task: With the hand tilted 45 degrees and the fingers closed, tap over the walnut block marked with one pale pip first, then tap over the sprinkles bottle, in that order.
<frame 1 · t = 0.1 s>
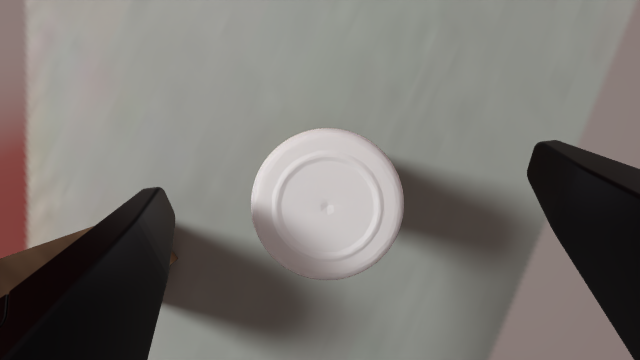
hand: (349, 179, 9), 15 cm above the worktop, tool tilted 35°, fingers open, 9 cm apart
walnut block: (135, 251, 24), on the worktop
sprinkles bottle: (322, 173, 24), on the worktop
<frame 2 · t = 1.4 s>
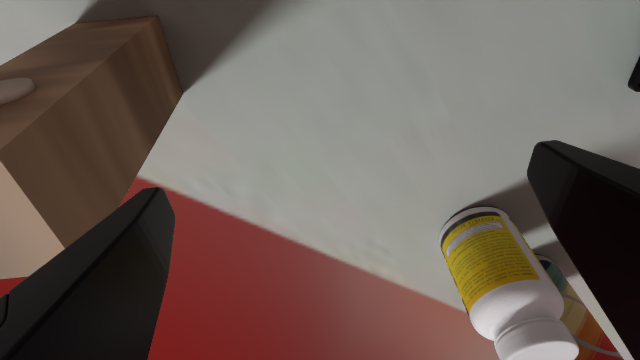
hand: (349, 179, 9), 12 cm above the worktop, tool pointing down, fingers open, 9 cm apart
supplement bottle: (471, 229, 28), on the worktop
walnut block: (132, 61, 19), on the worktop
lotion bottle: (518, 273, 32), on the worktop
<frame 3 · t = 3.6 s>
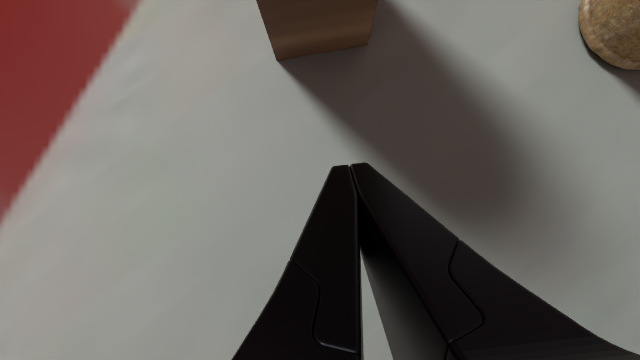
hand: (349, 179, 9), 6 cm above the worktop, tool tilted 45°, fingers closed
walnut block: (314, 9, 16), on the worktop
sprinkles bottle: (622, 25, 16), on the worktop
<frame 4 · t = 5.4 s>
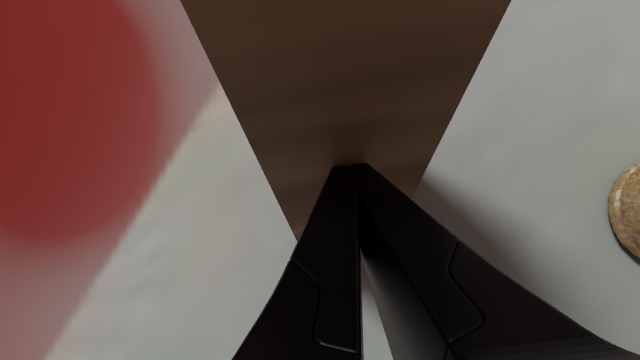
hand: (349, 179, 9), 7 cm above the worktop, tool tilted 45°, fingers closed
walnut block: (339, 187, 15), on the worktop, tilted 15°
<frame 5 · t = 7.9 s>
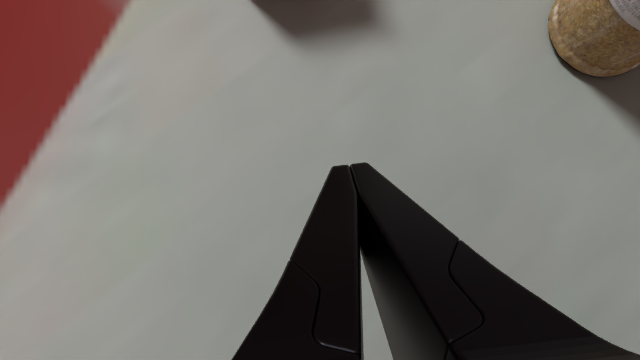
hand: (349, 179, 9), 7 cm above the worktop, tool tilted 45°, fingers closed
sprinkles bottle: (591, 34, 16), on the worktop
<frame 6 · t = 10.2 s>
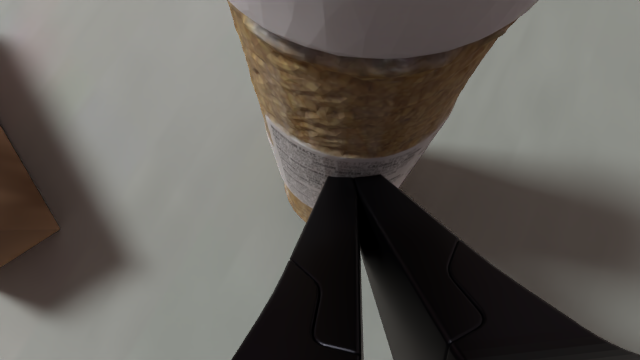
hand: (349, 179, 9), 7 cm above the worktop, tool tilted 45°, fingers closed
sprinkles bottle: (338, 185, 16), on the worktop, touching gripper
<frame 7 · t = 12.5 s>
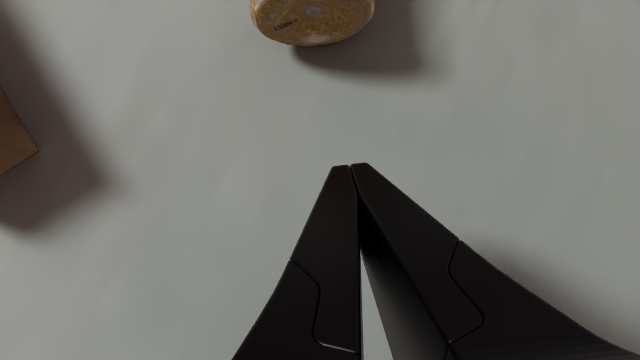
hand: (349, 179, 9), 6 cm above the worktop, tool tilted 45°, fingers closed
sprinkles bottle: (313, 27, 13), point 2 cm above the worktop
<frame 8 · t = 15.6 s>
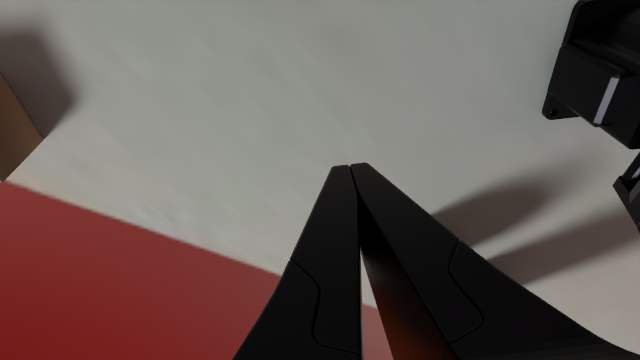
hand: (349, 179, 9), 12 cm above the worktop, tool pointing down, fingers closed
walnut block: (1, 125, 18), point 2 cm above the worktop, tilted 88°
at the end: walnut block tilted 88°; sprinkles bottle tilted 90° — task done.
